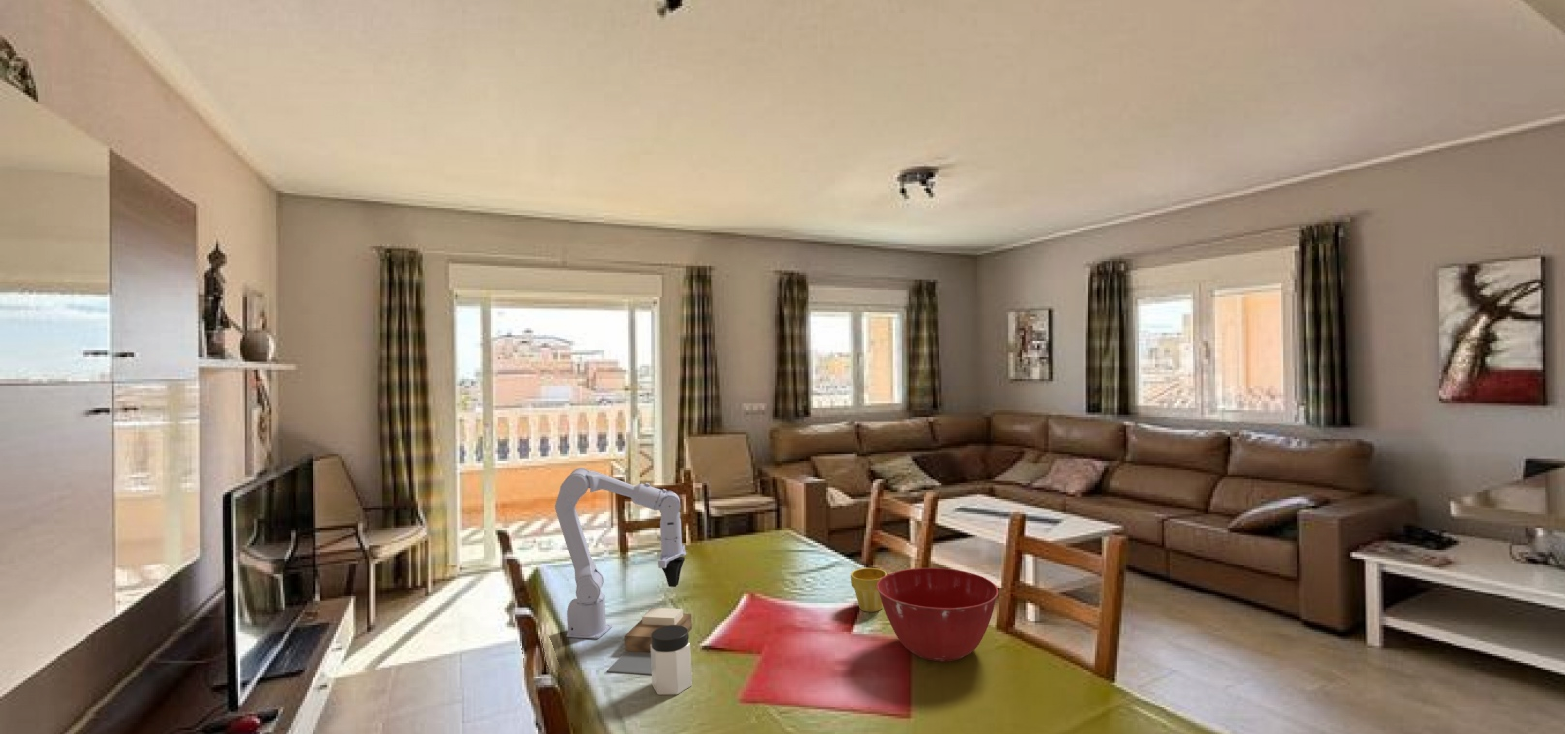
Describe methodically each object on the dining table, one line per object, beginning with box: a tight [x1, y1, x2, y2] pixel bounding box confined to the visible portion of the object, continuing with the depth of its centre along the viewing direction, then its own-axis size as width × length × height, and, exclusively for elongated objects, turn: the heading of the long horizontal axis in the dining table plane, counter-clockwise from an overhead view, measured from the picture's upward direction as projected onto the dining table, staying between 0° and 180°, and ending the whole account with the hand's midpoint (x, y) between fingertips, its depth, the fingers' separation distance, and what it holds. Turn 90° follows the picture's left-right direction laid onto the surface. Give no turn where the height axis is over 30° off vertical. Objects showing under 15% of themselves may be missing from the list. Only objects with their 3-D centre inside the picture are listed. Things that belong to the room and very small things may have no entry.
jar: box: [650, 625, 693, 696], centre depth 142 cm, size 9×8×12 cm
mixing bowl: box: [877, 567, 999, 662], centre depth 154 cm, size 28×28×16 cm
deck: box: [624, 612, 693, 653], centre depth 166 cm, size 12×15×4 cm
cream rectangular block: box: [641, 607, 684, 626], centre depth 168 cm, size 9×6×2 cm, turn 77°
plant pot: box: [850, 567, 888, 613], centre depth 181 cm, size 10×10×10 cm
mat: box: [606, 651, 652, 676], centre depth 153 cm, size 12×10×1 cm
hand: (673, 585), depth 176 cm, fingers closed
